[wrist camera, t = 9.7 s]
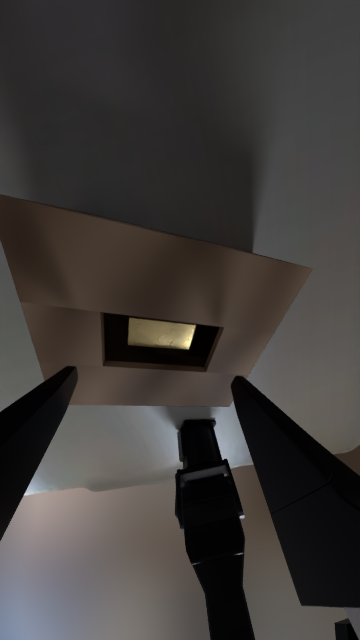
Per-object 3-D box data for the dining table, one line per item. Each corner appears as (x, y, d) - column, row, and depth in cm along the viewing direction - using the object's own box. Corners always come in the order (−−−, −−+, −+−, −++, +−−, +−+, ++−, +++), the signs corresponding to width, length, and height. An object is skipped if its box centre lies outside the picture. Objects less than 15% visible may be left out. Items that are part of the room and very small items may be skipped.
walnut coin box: (252, 253, 15) (313, 268, 9) (210, 358, 22) (229, 406, 16) (71, 209, 12) (-15, 191, 6) (86, 348, 19) (52, 404, 13)
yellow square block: (186, 300, 16) (195, 325, 12) (181, 320, 18) (188, 349, 13) (137, 292, 15) (129, 317, 11) (136, 315, 17) (127, 345, 12)
